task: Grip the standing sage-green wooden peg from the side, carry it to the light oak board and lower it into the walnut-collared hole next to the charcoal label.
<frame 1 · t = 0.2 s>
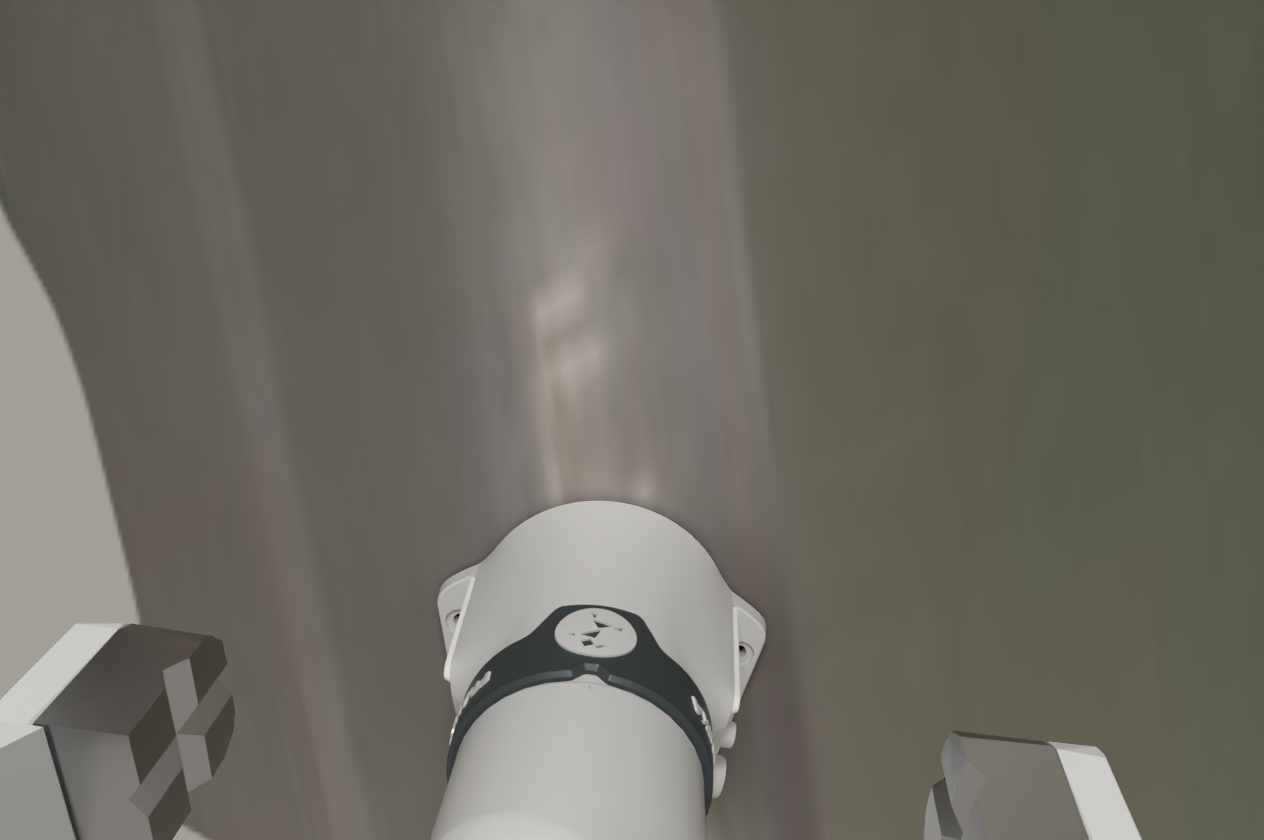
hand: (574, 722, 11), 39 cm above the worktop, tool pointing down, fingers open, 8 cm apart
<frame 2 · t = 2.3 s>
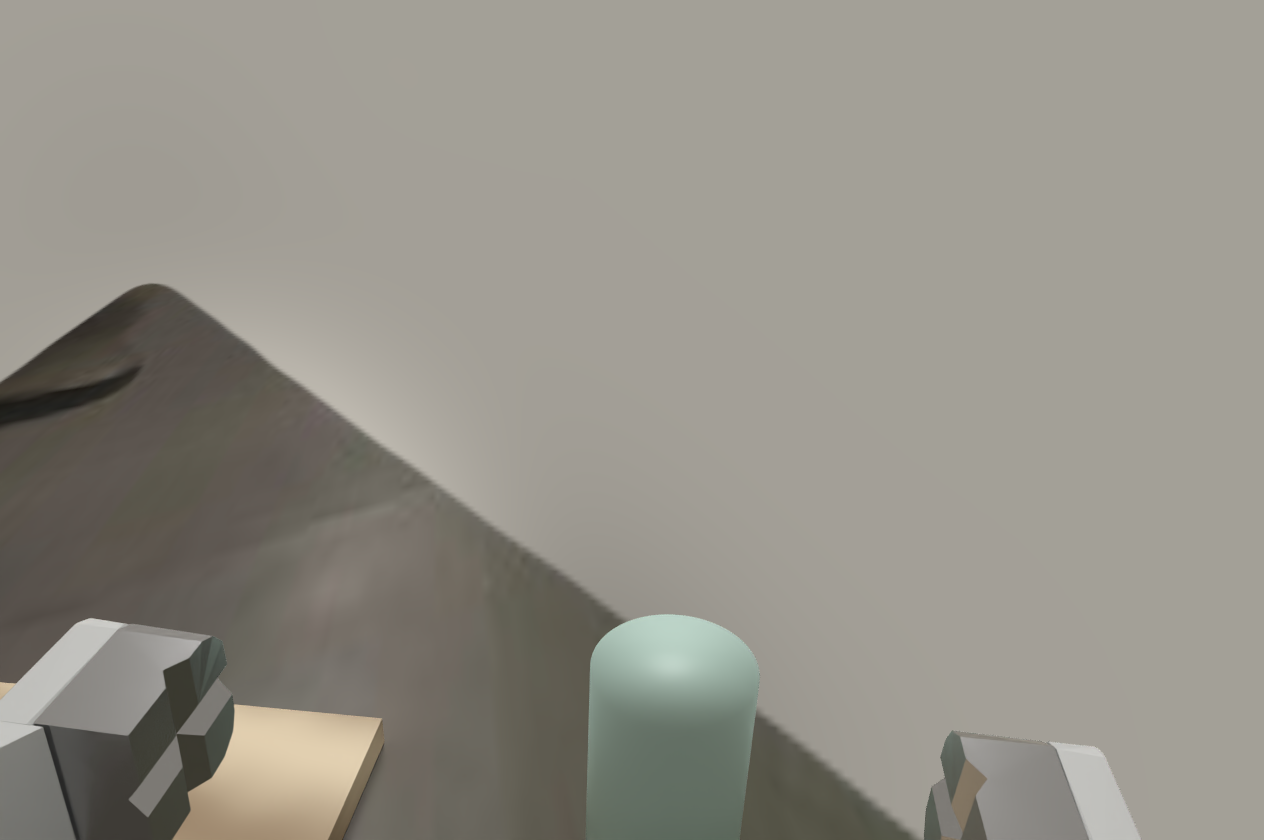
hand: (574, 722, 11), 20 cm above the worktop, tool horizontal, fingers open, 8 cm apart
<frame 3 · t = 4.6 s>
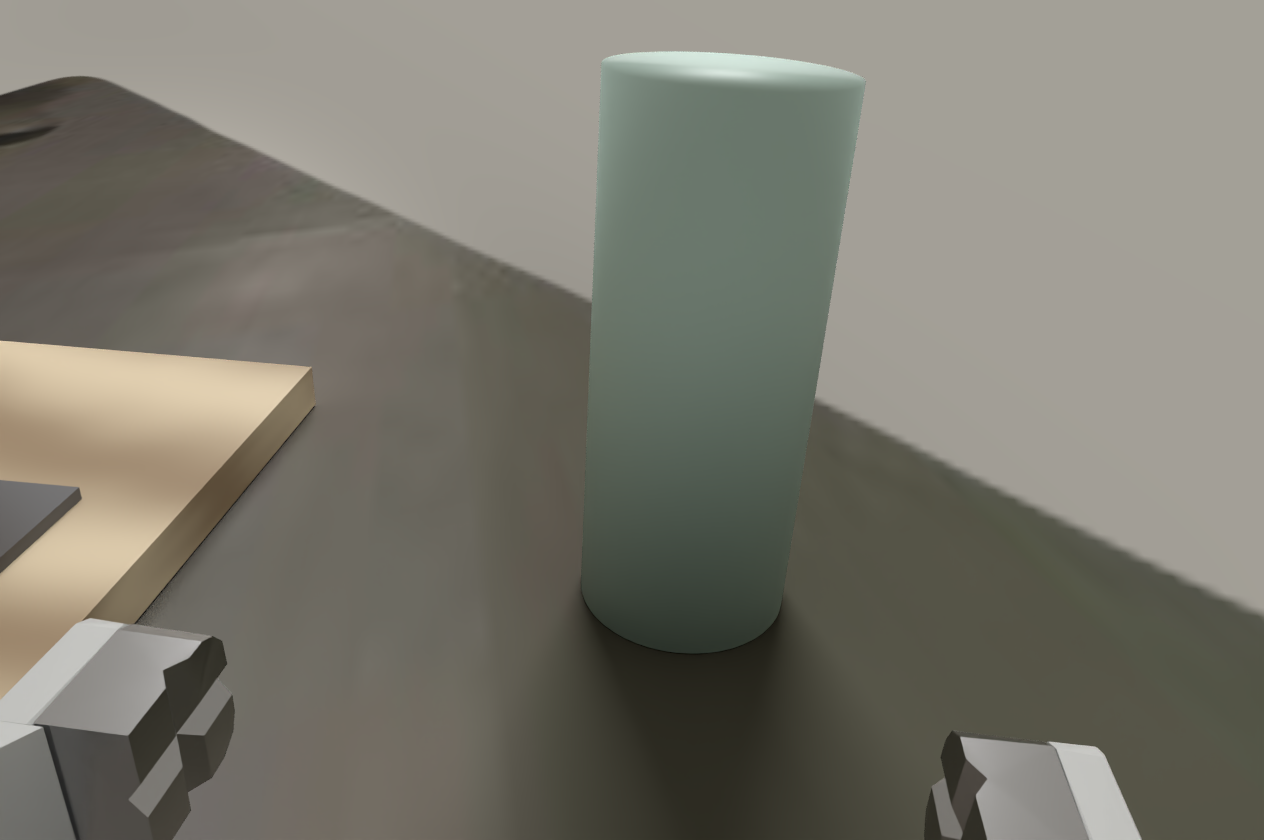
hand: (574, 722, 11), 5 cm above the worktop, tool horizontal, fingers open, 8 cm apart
peg: (681, 585, 22), on the worktop
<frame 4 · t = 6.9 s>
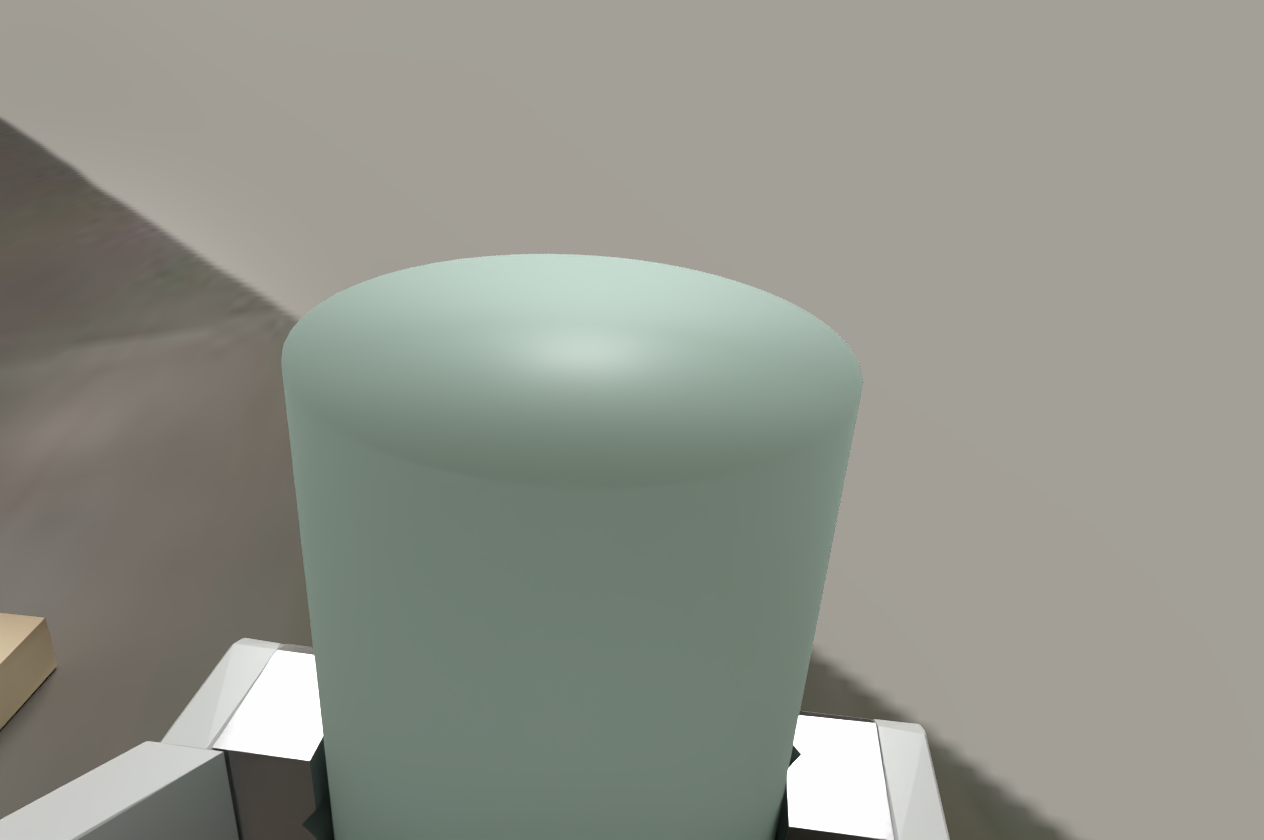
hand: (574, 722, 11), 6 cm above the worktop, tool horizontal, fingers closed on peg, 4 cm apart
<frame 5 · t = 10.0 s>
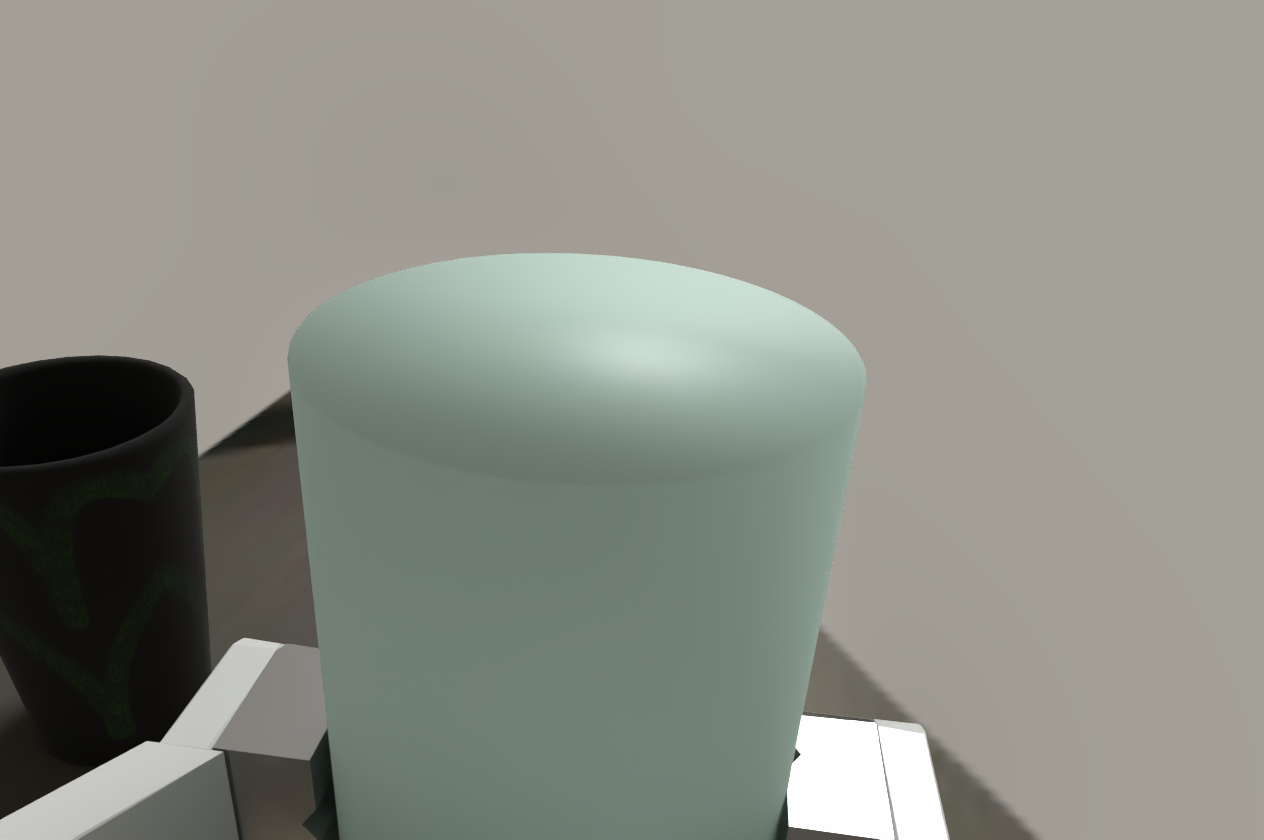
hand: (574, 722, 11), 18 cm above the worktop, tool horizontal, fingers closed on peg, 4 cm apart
cup: (129, 709, 34), on the worktop
when the fingers open (10 cm above the worktop, at t = 13.0 s): peg drops 3 cm, resting on socket board.
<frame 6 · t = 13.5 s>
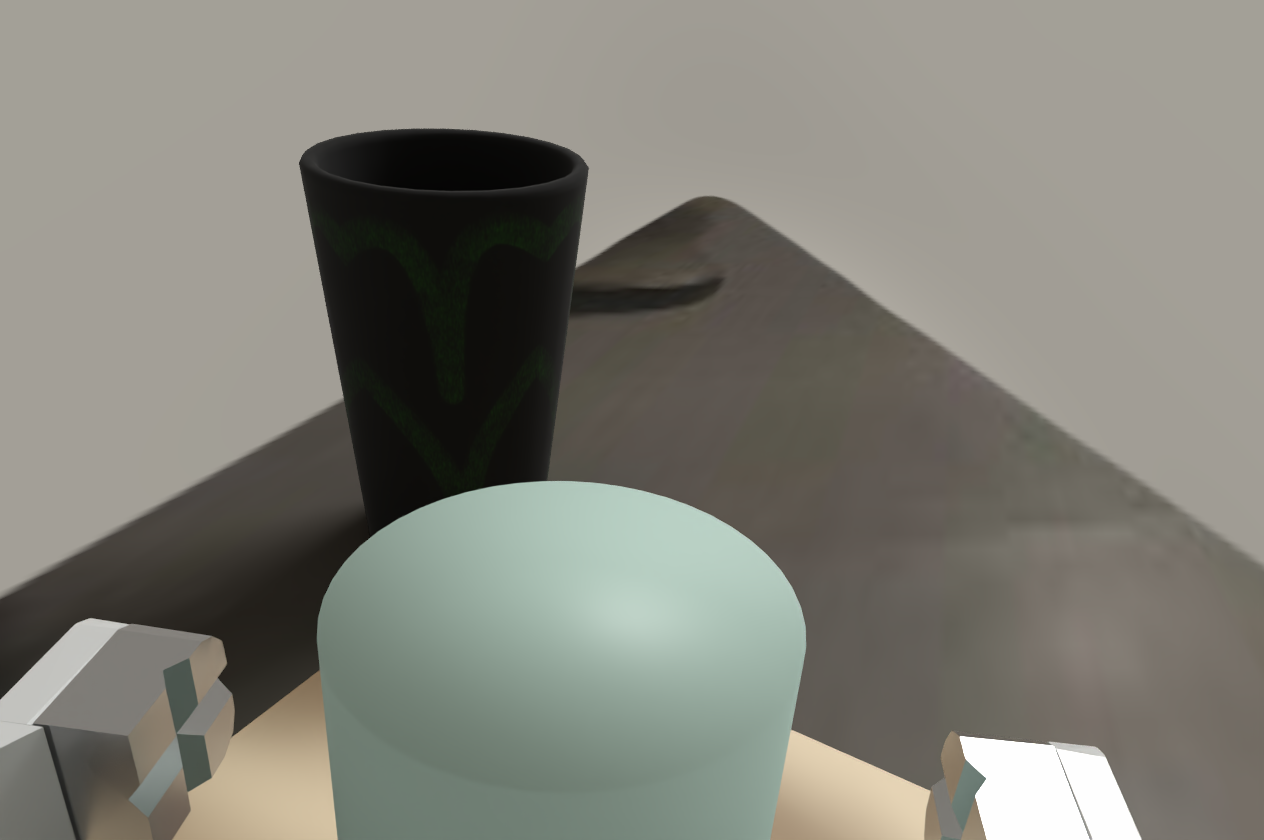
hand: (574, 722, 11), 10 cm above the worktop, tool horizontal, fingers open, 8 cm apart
cup: (456, 529, 32), on the worktop
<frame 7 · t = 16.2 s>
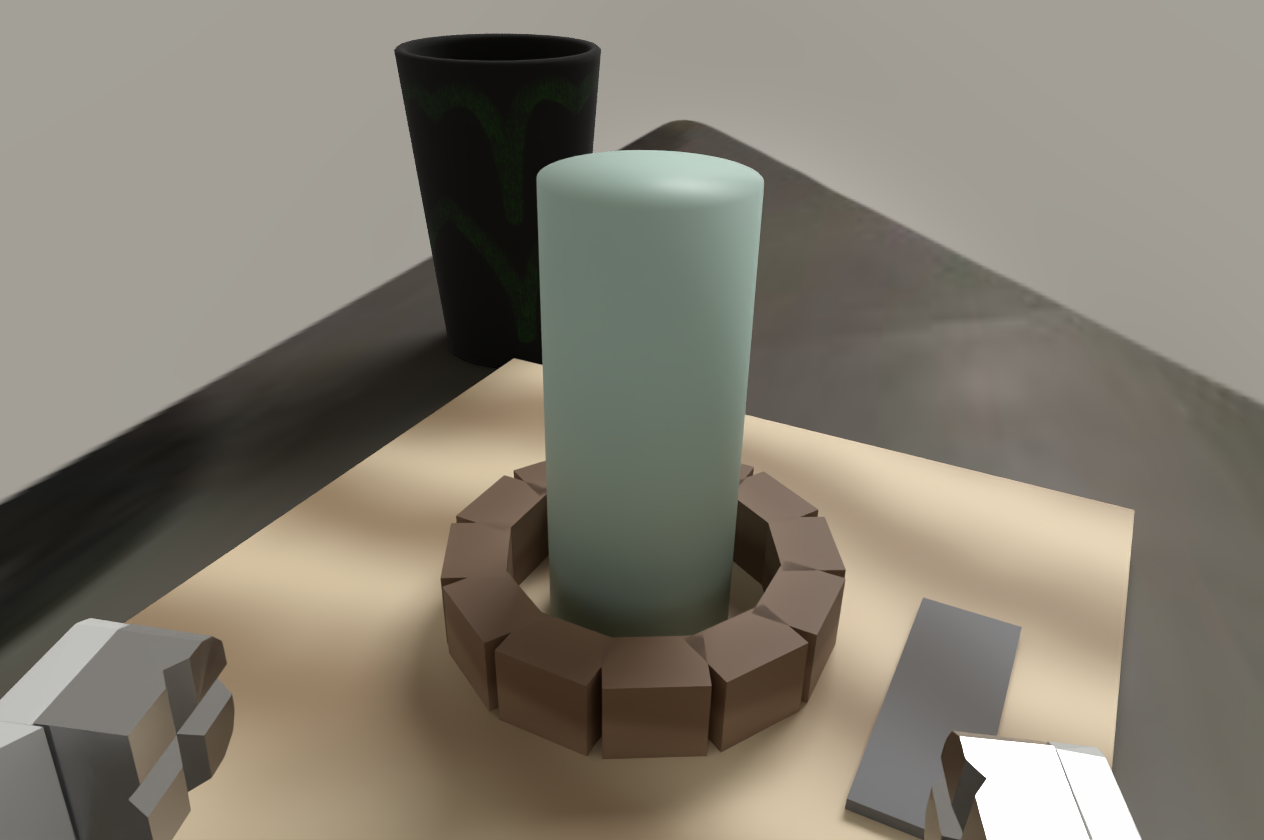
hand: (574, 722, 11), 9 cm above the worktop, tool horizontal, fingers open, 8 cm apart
cup: (513, 344, 42), on the worktop
peg: (639, 608, 24), point 1 cm above the worktop, touching socket board
socket board: (639, 645, 25), on the worktop
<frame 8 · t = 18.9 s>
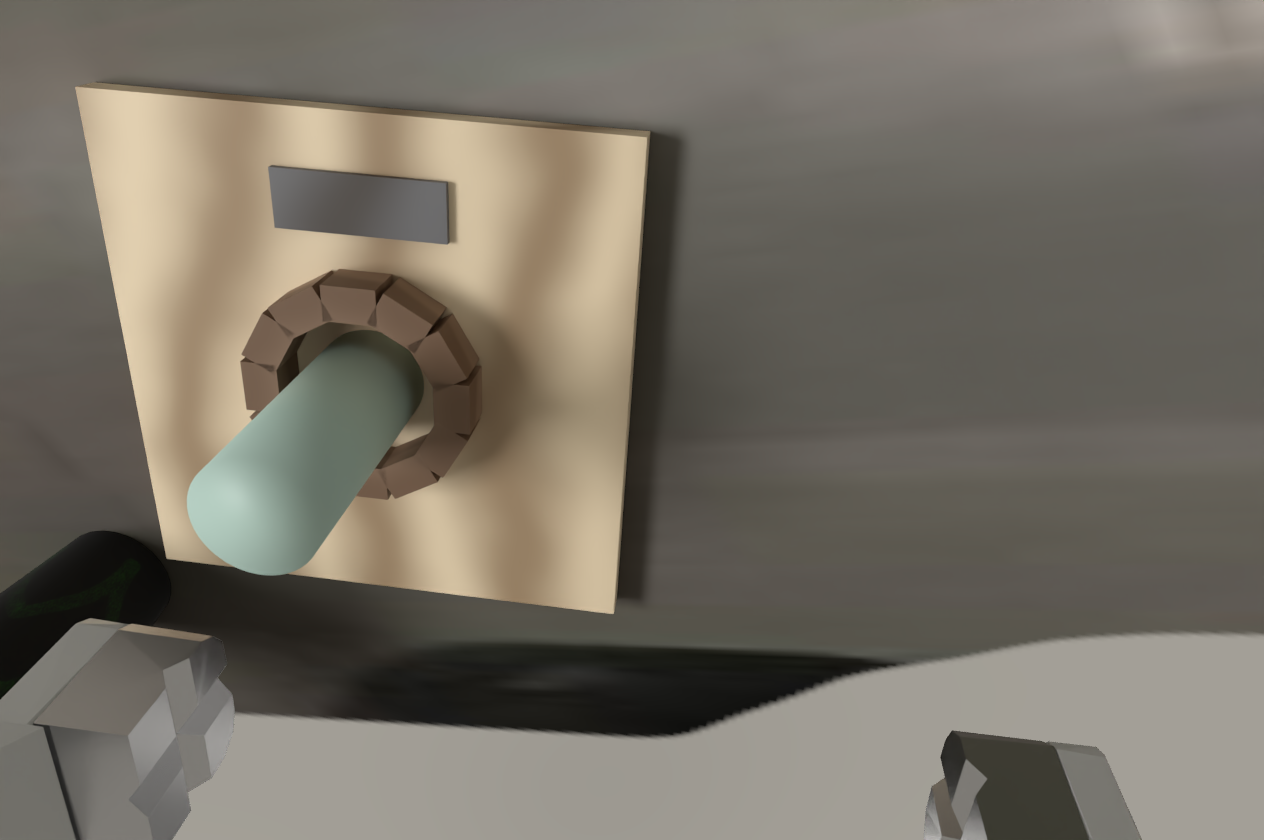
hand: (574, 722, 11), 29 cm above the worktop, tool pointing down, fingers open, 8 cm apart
cup: (120, 574, 49), on the worktop
peg: (372, 379, 41), point 1 cm above the worktop, touching socket board
socket board: (382, 366, 42), on the worktop
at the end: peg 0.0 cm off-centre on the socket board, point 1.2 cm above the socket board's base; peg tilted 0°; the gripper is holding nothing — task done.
